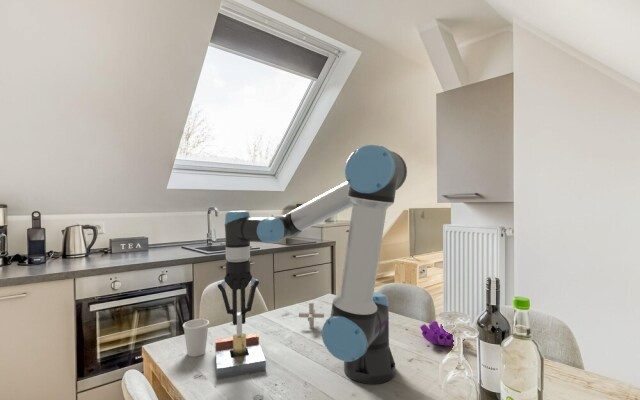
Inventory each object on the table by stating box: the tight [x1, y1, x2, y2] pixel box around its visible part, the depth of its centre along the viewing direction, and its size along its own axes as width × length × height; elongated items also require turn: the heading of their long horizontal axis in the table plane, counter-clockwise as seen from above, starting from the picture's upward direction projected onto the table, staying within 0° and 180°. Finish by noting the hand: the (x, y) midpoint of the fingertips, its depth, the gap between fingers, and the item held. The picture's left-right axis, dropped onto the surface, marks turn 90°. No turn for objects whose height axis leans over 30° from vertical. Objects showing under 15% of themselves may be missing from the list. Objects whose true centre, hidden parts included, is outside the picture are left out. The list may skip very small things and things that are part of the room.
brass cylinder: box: [232, 332, 247, 358], centre depth 105 cm, size 4×4×8 cm
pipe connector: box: [298, 301, 325, 329], centre depth 133 cm, size 10×10×10 cm
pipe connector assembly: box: [419, 320, 466, 346], centre depth 117 cm, size 11×15×10 cm
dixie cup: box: [182, 318, 210, 357], centre depth 112 cm, size 8×8×10 cm
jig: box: [214, 333, 267, 380], centre depth 105 cm, size 16×14×5 cm
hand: (239, 334), depth 105 cm, fingers closed
